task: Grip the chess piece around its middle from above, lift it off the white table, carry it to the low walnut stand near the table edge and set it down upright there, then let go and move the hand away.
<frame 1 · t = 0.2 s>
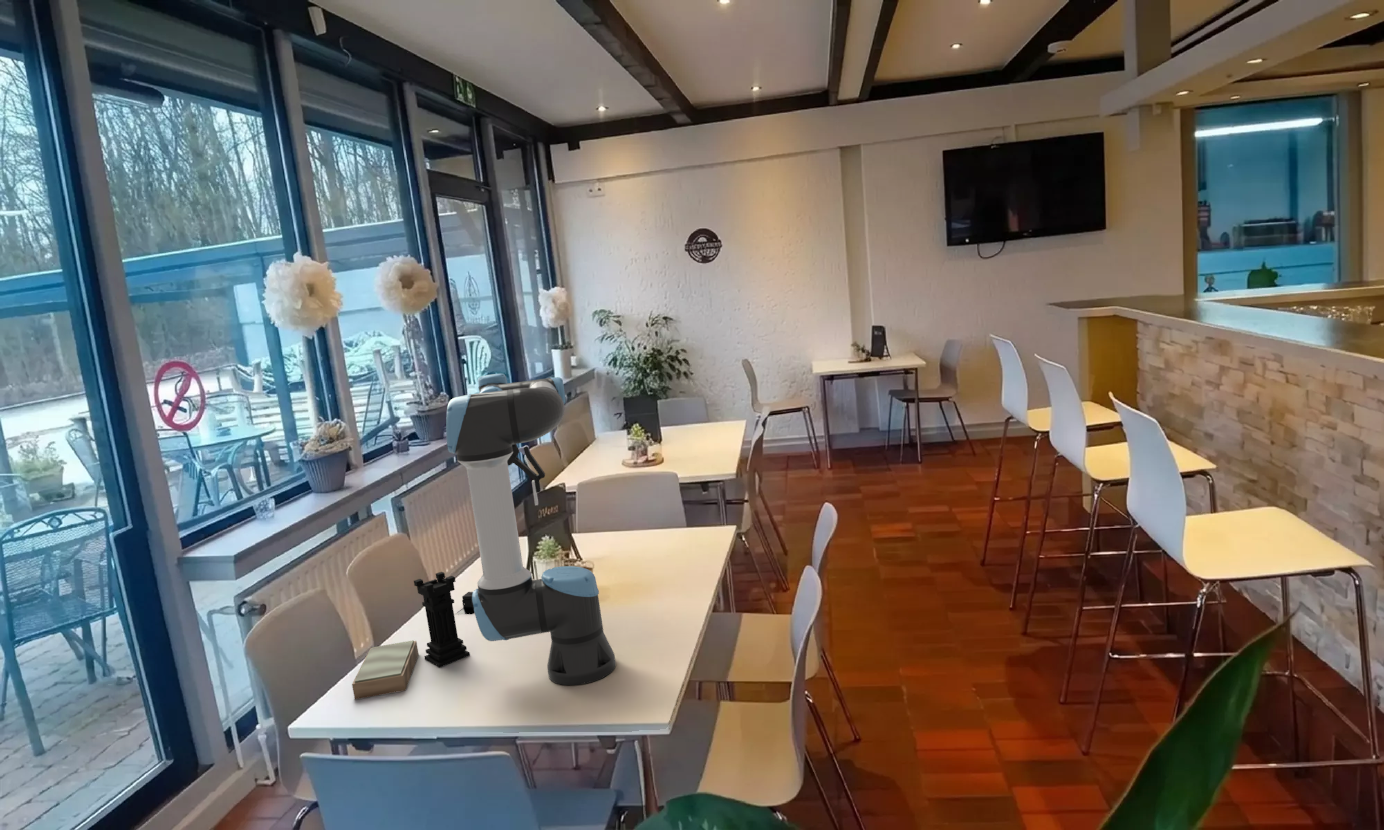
hand: (511, 507, 234), 28 cm above the table, tool pointing down, fingers open, 13 cm apart
walnut stand: (388, 675, 202), on the table
black blocky piece: (472, 610, 241), on the table
chess piece: (447, 658, 208), on the table
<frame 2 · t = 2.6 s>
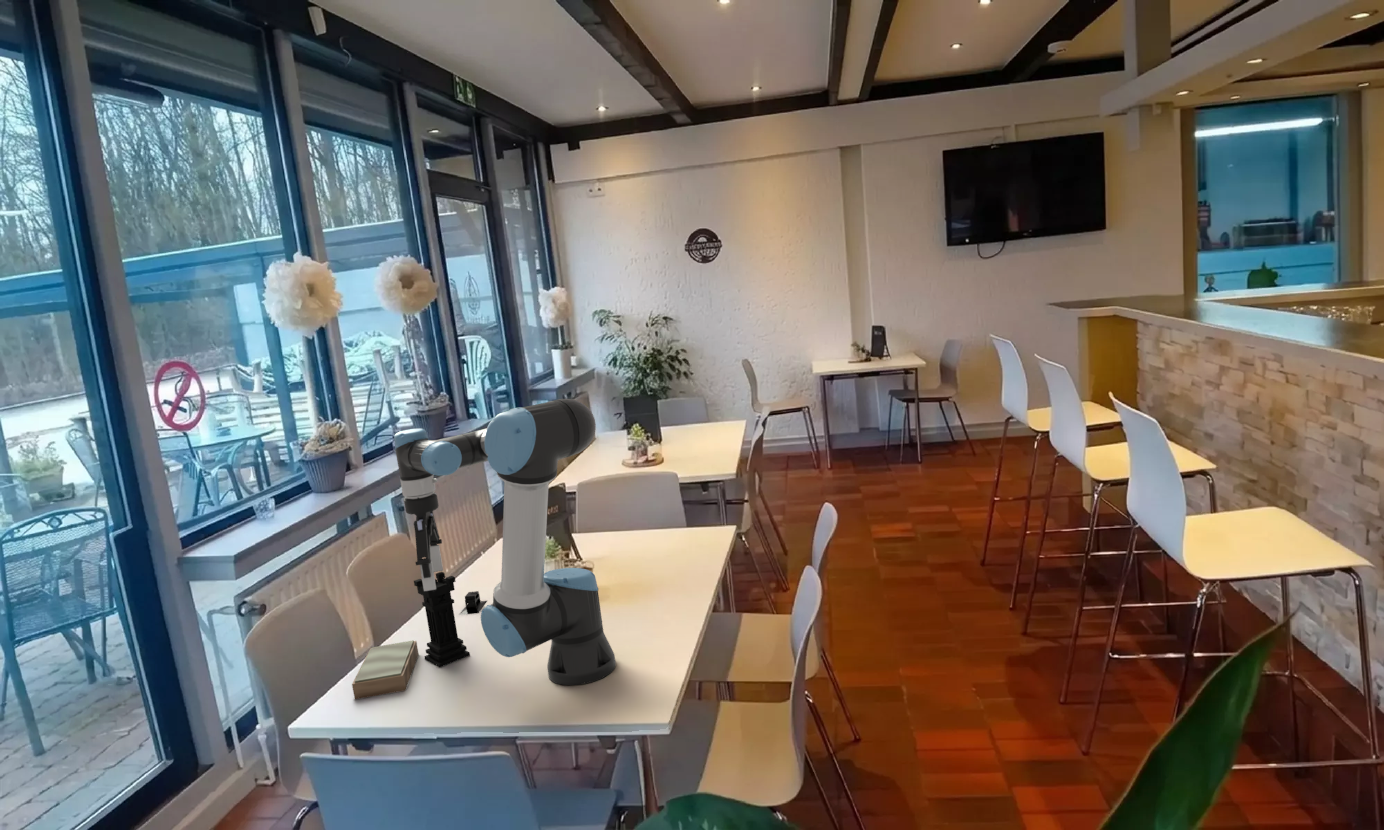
hand: (433, 580, 206), 20 cm above the table, tool pointing down, fingers open, 13 cm apart
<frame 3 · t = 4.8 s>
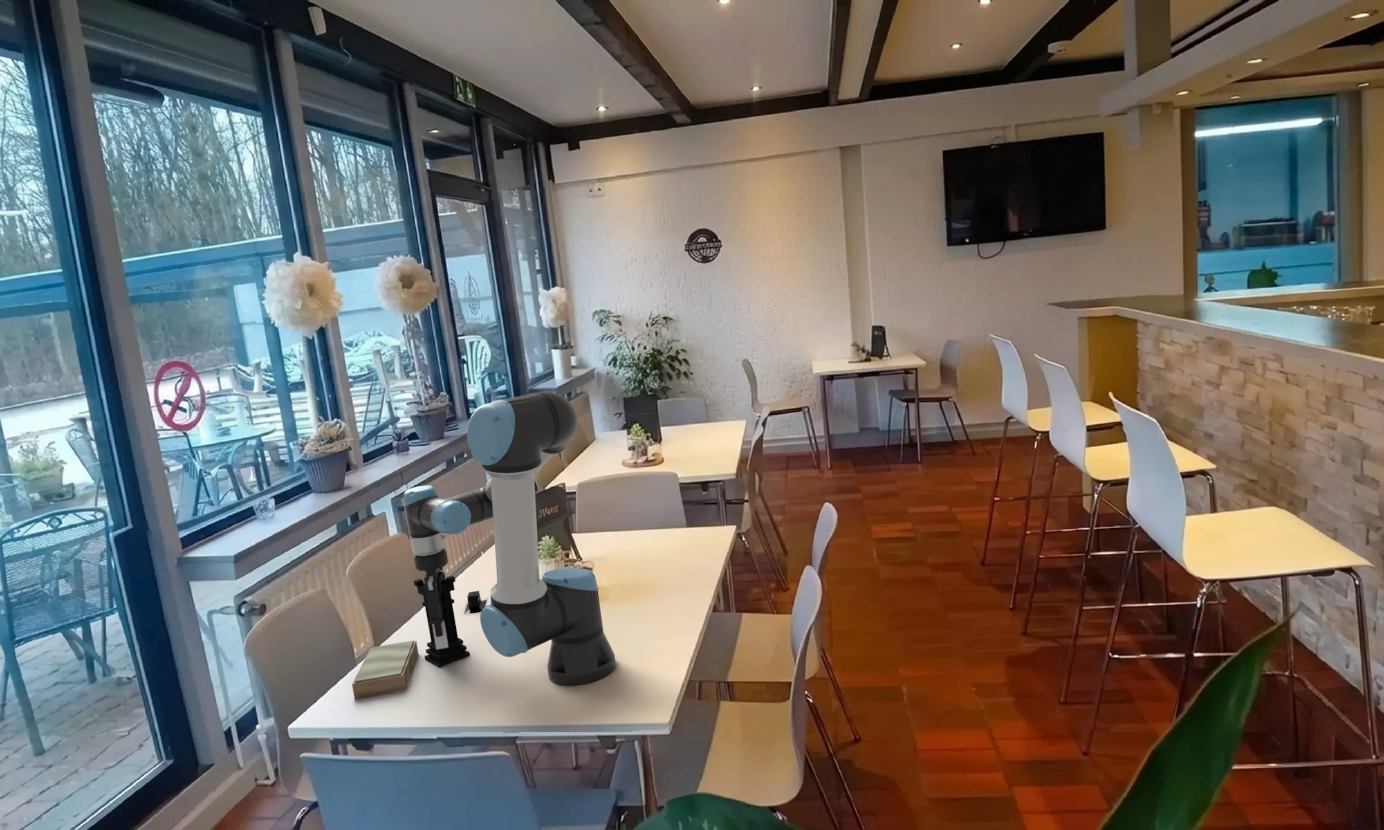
hand: (444, 640, 208), 4 cm above the table, tool pointing down, fingers closed on chess piece, 9 cm apart
chess piece: (447, 658, 208), on the table, touching gripper
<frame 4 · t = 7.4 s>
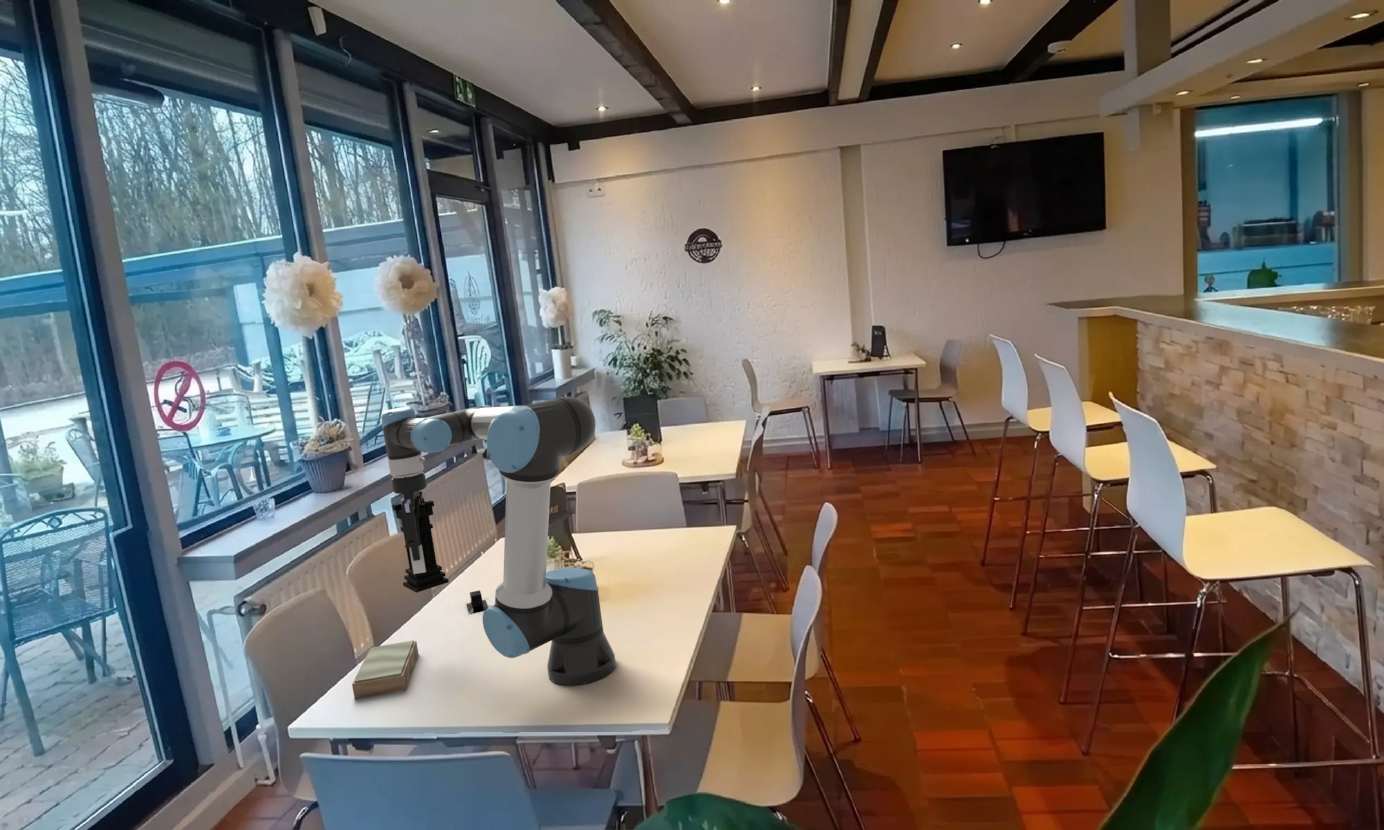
hand: (423, 566, 204), 24 cm above the table, tool pointing down, fingers closed on chess piece, 9 cm apart
chess piece: (426, 584, 205), point 19 cm above the table, touching gripper
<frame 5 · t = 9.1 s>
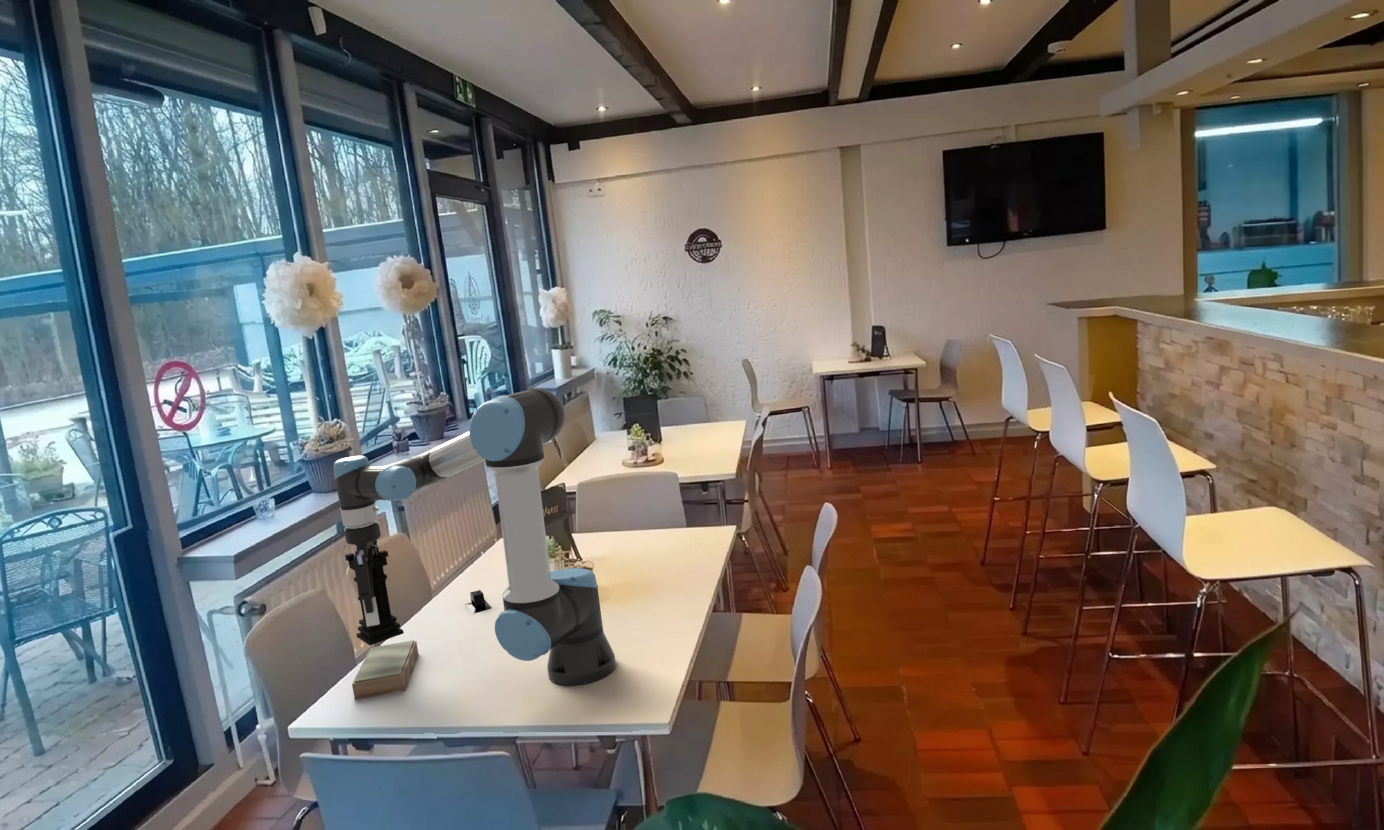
hand: (377, 617, 200), 15 cm above the table, tool pointing down, fingers closed on chess piece, 9 cm apart
chess piece: (380, 635, 200), point 10 cm above the table, touching gripper
when the fingers open (10 cm above the table, at t = 10.3 s): chess piece drops 1 cm, resting on walnut stand.
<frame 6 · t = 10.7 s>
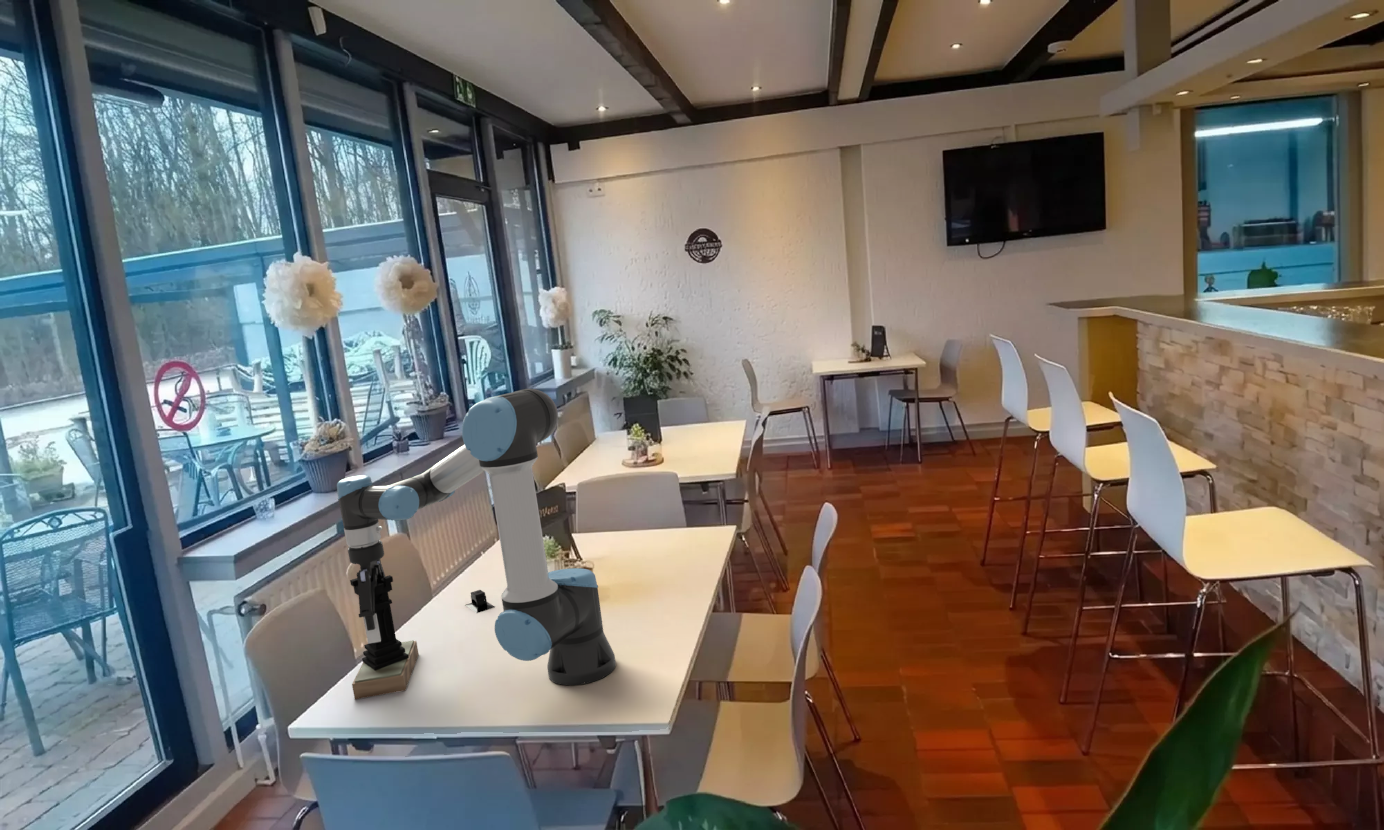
hand: (380, 630, 200), 11 cm above the table, tool pointing down, fingers open, 13 cm apart
chess piece: (385, 660, 201), point 4 cm above the table, touching walnut stand
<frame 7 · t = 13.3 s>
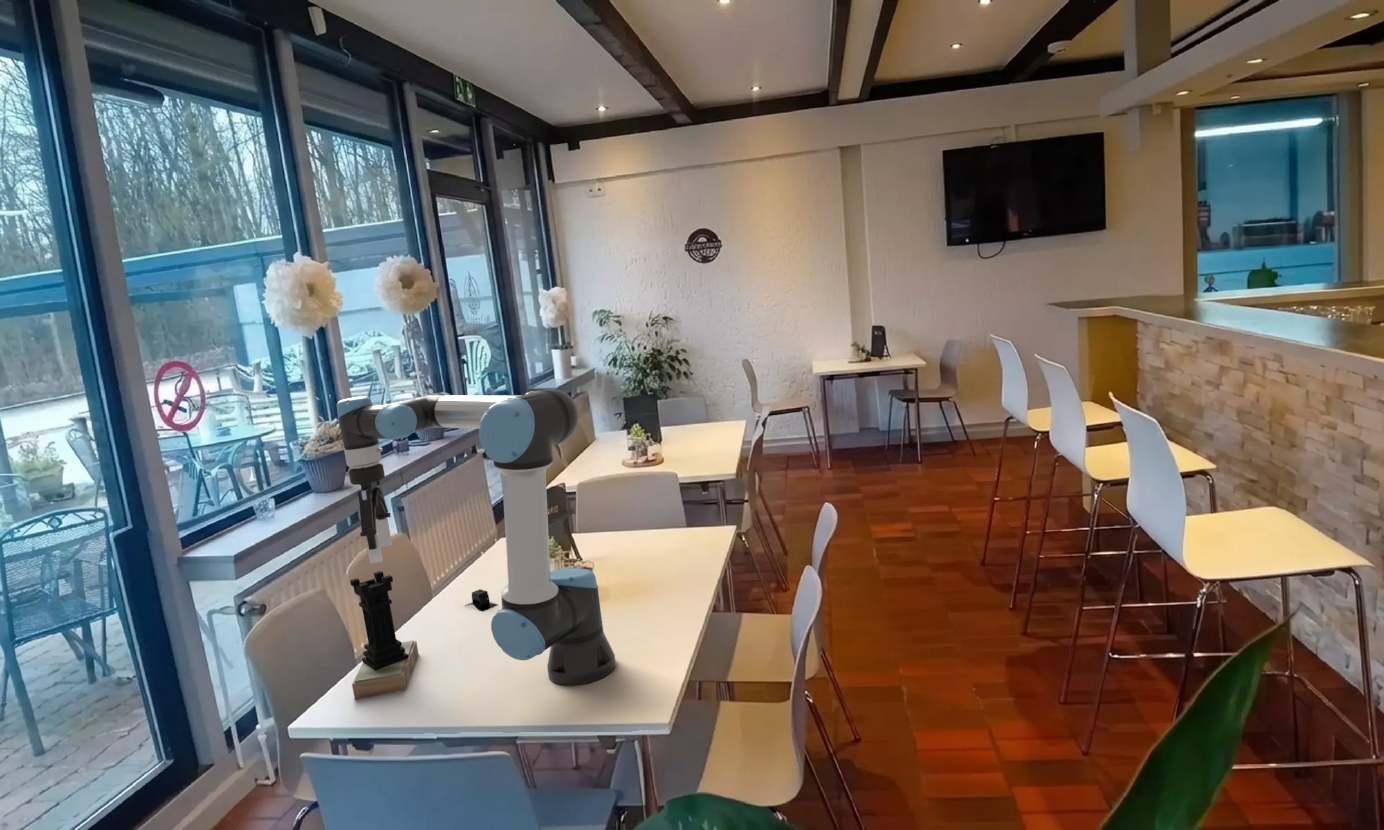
hand: (381, 553, 199), 29 cm above the table, tool pointing down, fingers open, 13 cm apart
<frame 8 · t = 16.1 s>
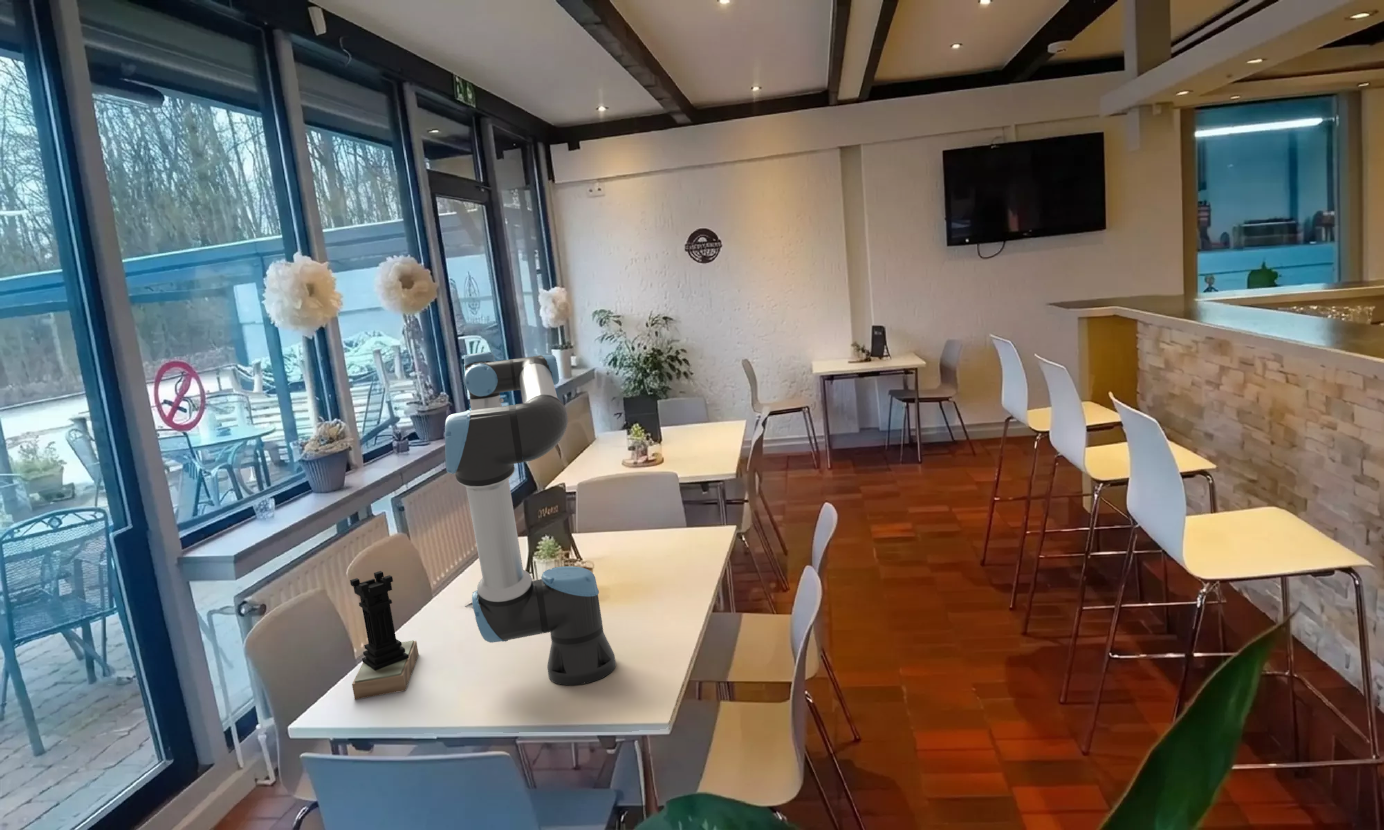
hand: (500, 495, 219), 35 cm above the table, tool pointing down, fingers open, 13 cm apart
at the end: chess piece inside the target area on the walnut stand (0.0 cm from its centre), point 3.8 cm above the walnut stand's base; chess piece tilted 0°; the gripper is holding nothing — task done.
